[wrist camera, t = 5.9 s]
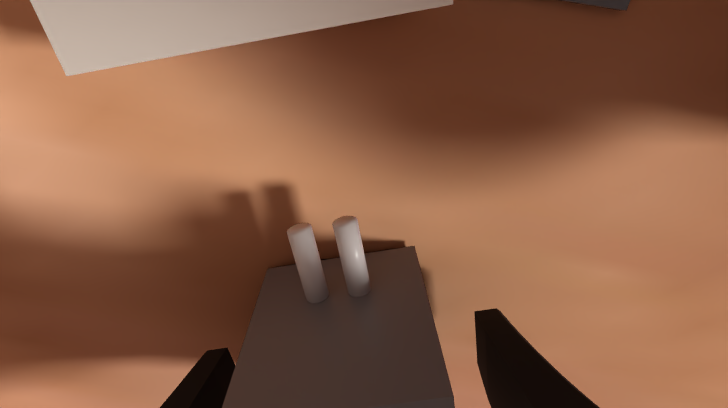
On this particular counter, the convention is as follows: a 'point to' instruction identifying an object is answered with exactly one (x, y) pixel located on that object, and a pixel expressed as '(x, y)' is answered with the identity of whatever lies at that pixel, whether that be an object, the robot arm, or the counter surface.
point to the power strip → (190, 25)
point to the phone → (604, 3)
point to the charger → (341, 332)
